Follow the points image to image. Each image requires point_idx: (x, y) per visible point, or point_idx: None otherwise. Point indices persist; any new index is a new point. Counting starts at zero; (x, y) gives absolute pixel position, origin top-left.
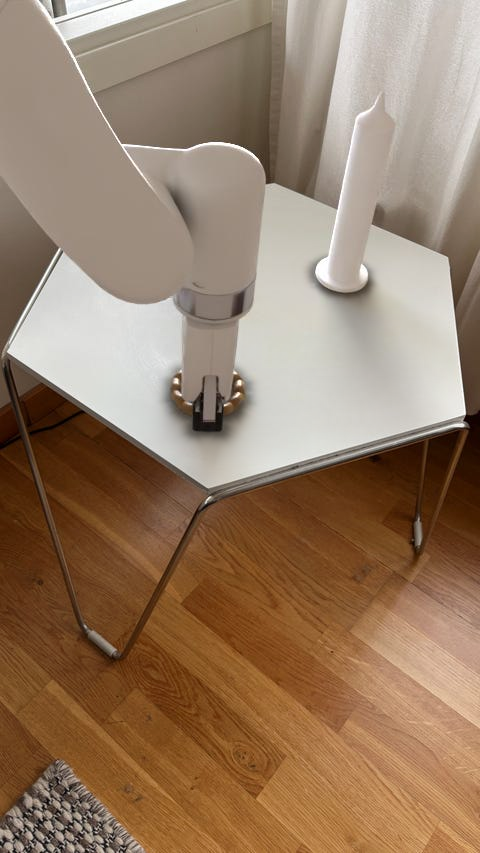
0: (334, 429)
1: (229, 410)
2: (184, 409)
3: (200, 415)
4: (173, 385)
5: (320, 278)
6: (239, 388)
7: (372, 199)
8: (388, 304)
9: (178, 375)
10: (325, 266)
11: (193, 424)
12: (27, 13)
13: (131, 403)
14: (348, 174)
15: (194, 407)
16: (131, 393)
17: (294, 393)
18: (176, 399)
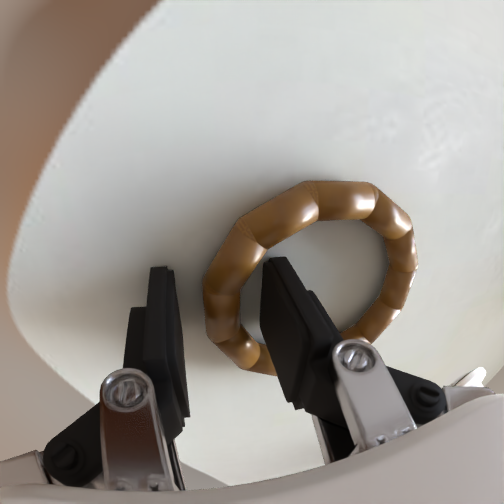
0: (209, 454)
1: (230, 359)
2: (229, 242)
3: (123, 365)
4: (344, 199)
5: (468, 380)
6: None
7: None
8: None
9: (383, 214)
10: (477, 378)
11: (149, 285)
12: None
13: (280, 35)
14: None
15: (145, 360)
16: (328, 40)
17: (289, 416)
18: (277, 212)
